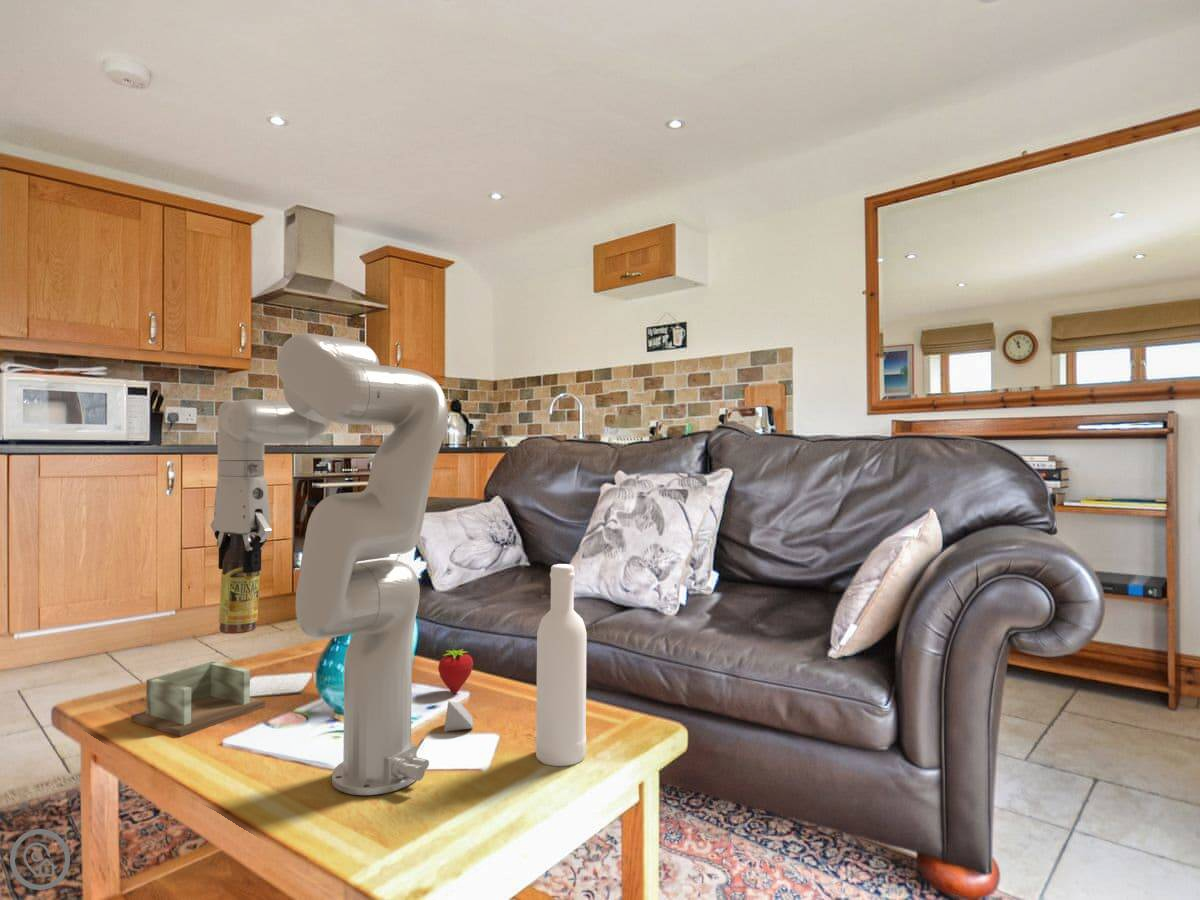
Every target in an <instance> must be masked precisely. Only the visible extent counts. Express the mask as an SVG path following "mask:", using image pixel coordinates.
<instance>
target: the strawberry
mask: <svg viewBox="0 0 1200 900" xmlns="http://www.w3.org/2000/svg"><path fill="white" fill-rule="evenodd" d="M454 648H455V647H453V648H452V650H445V652H446V653H444V654H442V656H443V658H442V659H440V661H439V662H438V663H439V664H438V667H437V670H438V673H439V676H440V678H441V681H442V682H443V683H444V685H445V686H446V687H447V688H448V690H449V691H450V692H451V693H453V694H457V693H459V691H460V690H461V688H462V687H463V685H464V684H465V683H466V681H467V679H468V678H469V677H470V676H471V674H472V671H473V668H474V667H473V666H474V659H473V658H472V657H471V655H470V654H468V653H469V651H466V650H465V651H464V648H462V649H459V650H455V649H454Z"/></svg>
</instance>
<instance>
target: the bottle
mask: <svg viewBox="0 0 1200 900" xmlns="http://www.w3.org/2000/svg"><path fill="white" fill-rule="evenodd" d="M549 577H550V610H549V611H548V612H547V613H546V614H544V616H543V617H542V618H541V620H540V623H539V625H538V629H537V632H536V639H537V640H536V706H535V707H536V709H535V711H536V713H535V714H536V721H535V723H536V724H535V729H536V730H535V731H536V733H535V756H536V758H537V760H538V761H539V762H541V763H542V764H544V765H548V766H553V767H569V766H574V765H576V764H578V763H581V761H583V760H584V759H585V757H586V750H587V749H586V747H587V733H586V732H587V731H586V730H587V728H586V724H587V723H586V722H587V640H588V639H587V635H588V634H587V629H586V625H585V622H584V620H583V618H582V617H581V615H580V614H578V613H577V612H576V611H575V610H574V609H575V607H574V606H575V603H574V602H575V601H574V598H575V597H574V596H575V595H574V594H575V593H574V590H575V589H574V588H575V587H574V586H575V580H574V579H575V577H576V573H575V567H574V566H573V565H572V564H569V563H557V564H553V565H552V566H551V567H550V573H549Z"/></svg>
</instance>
